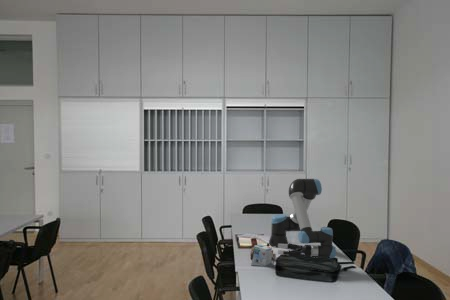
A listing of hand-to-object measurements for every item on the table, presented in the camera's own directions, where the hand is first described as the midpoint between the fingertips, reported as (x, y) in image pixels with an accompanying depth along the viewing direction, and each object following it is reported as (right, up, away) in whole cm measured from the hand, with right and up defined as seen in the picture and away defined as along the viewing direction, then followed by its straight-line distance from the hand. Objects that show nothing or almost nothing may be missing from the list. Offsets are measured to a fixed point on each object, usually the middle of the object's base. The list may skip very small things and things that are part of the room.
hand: (277, 248), depth 229 cm
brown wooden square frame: (-9, -10, +16) cm, 21 cm away
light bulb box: (-10, -10, +1) cm, 14 cm away
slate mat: (-10, -10, +1) cm, 15 cm away
